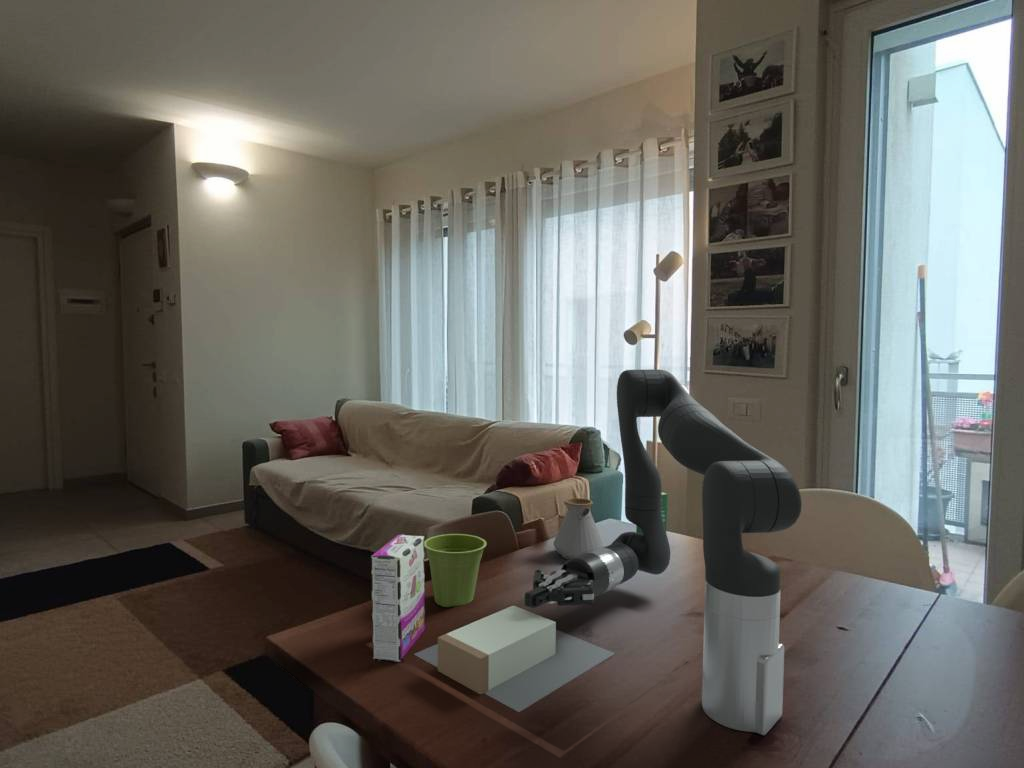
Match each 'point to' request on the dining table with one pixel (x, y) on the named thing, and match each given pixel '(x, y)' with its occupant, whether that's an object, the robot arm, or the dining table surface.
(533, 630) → the cream block
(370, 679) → the dining table surface
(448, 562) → the plant pot
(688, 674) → the dining table surface
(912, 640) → the dining table surface
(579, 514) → the coffee pot
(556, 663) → the rubber mat
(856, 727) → the dining table surface
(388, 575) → the candy bar box
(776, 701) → the robot arm
